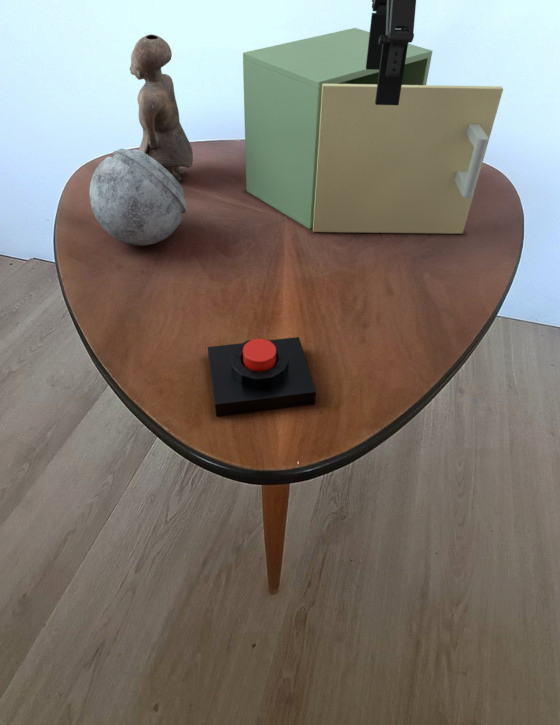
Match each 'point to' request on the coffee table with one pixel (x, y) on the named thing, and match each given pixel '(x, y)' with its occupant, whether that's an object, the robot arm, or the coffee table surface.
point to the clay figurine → (159, 107)
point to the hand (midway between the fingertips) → (380, 85)
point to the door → (400, 157)
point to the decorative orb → (136, 198)
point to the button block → (260, 379)
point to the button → (259, 355)
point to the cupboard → (301, 110)
